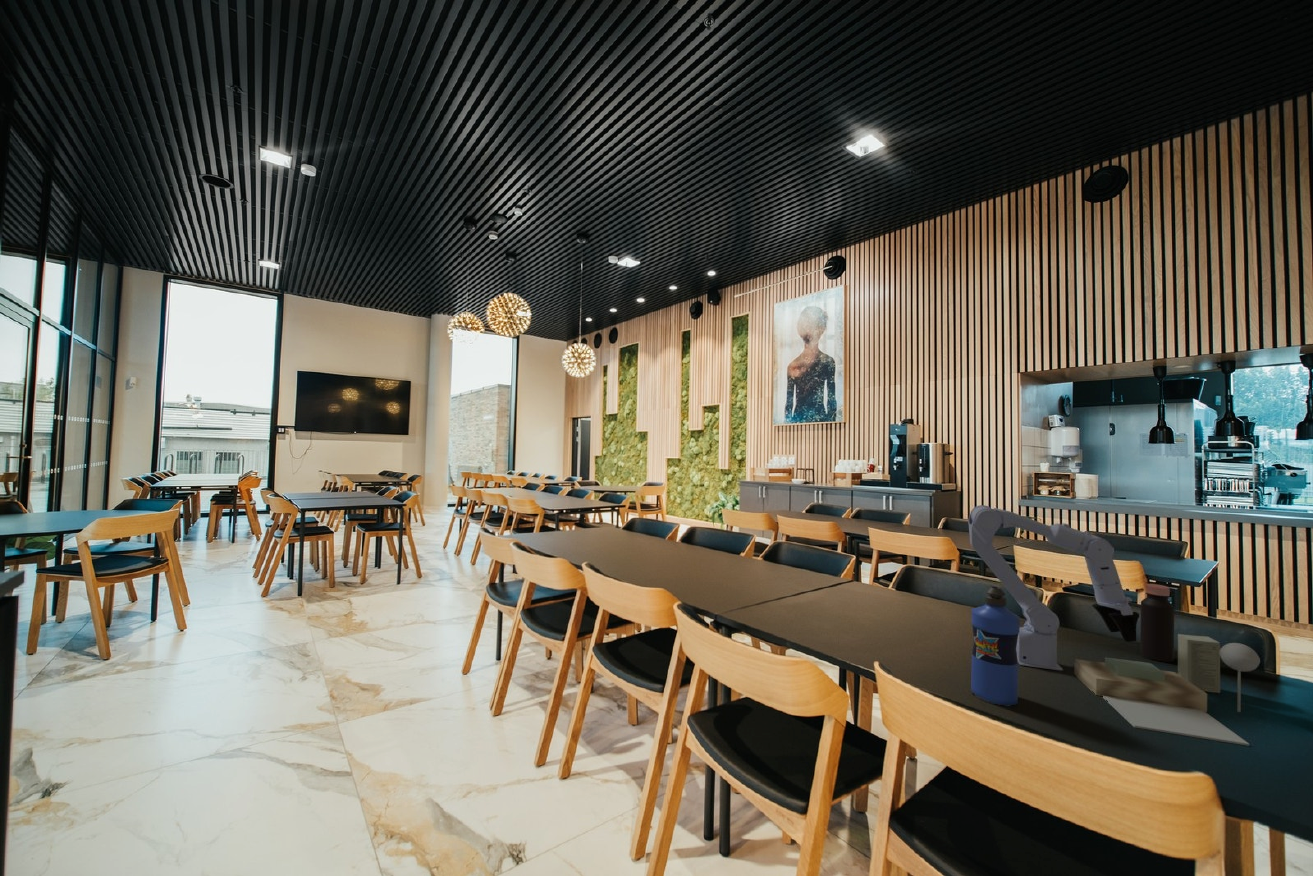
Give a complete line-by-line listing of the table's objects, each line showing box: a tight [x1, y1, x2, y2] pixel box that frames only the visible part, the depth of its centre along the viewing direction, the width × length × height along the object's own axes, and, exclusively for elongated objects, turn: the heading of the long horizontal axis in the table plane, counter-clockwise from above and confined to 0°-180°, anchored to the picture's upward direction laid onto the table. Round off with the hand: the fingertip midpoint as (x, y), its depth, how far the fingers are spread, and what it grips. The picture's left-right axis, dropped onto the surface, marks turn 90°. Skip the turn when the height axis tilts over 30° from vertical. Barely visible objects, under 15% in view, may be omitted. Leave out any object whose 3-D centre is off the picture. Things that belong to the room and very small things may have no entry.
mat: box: [1101, 695, 1250, 747], centre depth 112 cm, size 18×14×1 cm
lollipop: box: [1219, 642, 1261, 713], centre depth 116 cm, size 6×6×15 cm
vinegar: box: [1139, 583, 1175, 663], centre depth 146 cm, size 7×7×20 cm
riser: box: [1074, 658, 1208, 713], centre depth 124 cm, size 20×12×4 cm, turn 71°
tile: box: [1104, 657, 1165, 682], centre depth 125 cm, size 9×6×2 cm, turn 71°
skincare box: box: [1177, 633, 1221, 694], centre depth 128 cm, size 6×4×12 cm
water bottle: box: [970, 586, 1021, 706], centre depth 120 cm, size 9×9×25 cm
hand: (1122, 636), depth 133 cm, fingers open, 7 cm apart
